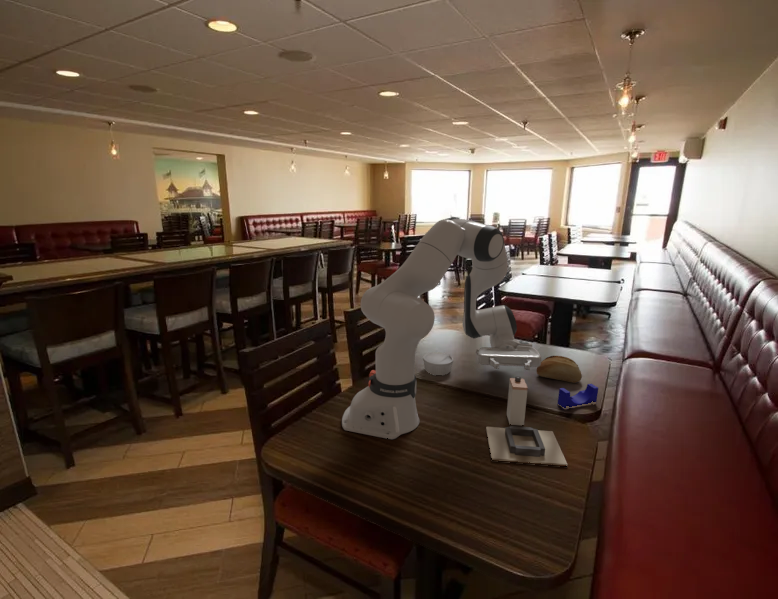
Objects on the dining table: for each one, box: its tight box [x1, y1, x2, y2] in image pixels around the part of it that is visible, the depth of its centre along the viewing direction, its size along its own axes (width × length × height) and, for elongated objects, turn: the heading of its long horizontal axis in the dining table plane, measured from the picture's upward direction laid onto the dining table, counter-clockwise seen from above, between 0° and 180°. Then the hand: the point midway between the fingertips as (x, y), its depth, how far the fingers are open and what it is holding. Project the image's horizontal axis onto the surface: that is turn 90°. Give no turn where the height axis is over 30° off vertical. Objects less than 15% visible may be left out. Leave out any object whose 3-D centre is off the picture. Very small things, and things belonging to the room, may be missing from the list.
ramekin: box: [422, 351, 454, 376], centre depth 150 cm, size 11×11×5 cm
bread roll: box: [536, 355, 583, 384], centre depth 144 cm, size 10×15×8 cm, turn 71°
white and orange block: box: [506, 376, 529, 426], centre depth 117 cm, size 4×6×13 cm
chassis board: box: [485, 425, 569, 467], centre depth 106 cm, size 18×14×3 cm
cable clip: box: [557, 383, 599, 408], centre depth 127 cm, size 12×4×6 cm, turn 106°
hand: (512, 367), depth 127 cm, fingers open, 8 cm apart
